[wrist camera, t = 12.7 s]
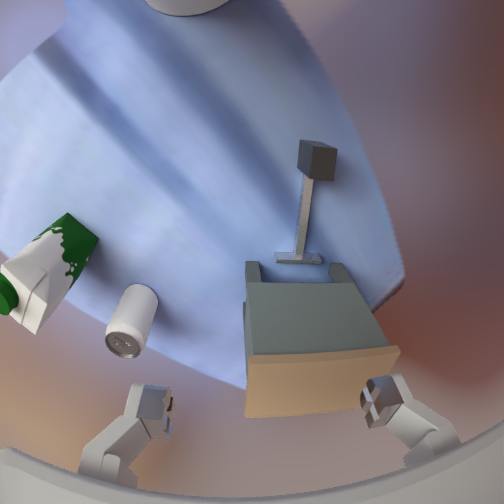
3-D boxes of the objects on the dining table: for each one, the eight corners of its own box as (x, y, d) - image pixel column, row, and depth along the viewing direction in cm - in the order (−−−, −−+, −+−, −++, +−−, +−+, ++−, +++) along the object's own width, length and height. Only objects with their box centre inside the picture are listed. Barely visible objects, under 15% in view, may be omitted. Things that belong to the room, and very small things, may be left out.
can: (151, 317, 50) (136, 366, 39) (120, 301, 48) (98, 348, 37) (164, 293, 48) (149, 343, 37) (131, 276, 46) (107, 322, 35)
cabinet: (242, 258, 45) (249, 363, 26) (345, 260, 47) (401, 352, 28) (239, 313, 50) (244, 418, 32) (331, 313, 52) (369, 406, 33)
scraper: (285, 138, 37) (296, 144, 31) (334, 143, 38) (352, 151, 31) (274, 255, 45) (280, 279, 39) (317, 256, 46) (329, 280, 40)
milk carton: (65, 204, 39) (-11, 267, 21) (105, 238, 42) (45, 317, 24) (48, 241, 42) (-17, 309, 24) (85, 272, 45) (32, 351, 27)
